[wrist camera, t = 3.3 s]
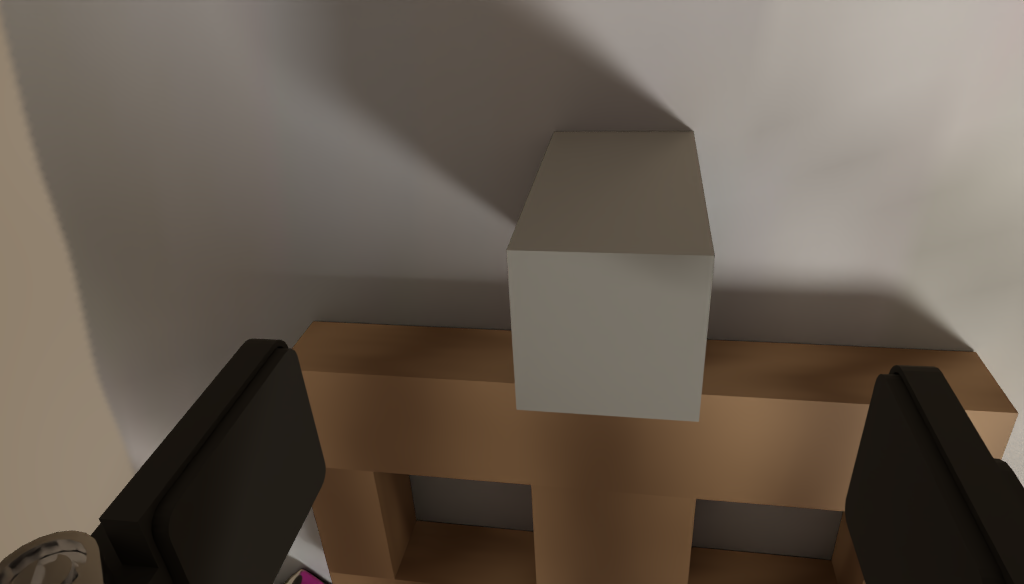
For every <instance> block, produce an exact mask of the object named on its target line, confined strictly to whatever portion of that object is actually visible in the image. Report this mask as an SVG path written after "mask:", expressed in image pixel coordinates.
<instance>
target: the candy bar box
mask: <svg viewBox="0 0 1024 584" xmlns="http://www.w3.org/2000/svg"><path fill="white" fill-rule="evenodd" d="M283 584H325V583H324V582H322V581H321V580H319V579H318V578H316V577H315V576H313V575H312V574H310V573H309V572H307V571H305V570H304V569H300V570H299V571H298V572H296V573H295V574H294V575H293V576H291V577H290V578H289V579H288V580H287V581H286V582H285V583H283Z"/></svg>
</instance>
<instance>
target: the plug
mask: <svg viewBox="0 0 1024 584" xmlns="http://www.w3.org/2000/svg"><path fill="white" fill-rule="evenodd" d="M506 252H507V267H508V283H509V299H510V315H511V330H512V346H513V362H514V377H515V393H516V409H517V410H528V411H543V412H558V413H573V414H588V415H603V416H618V417H633V418H649V419H664V420H679V421H694V422H699V415H700V405H701V394H702V384H703V373H704V363H705V352H706V342H707V331H708V321H709V310H710V300H711V289H712V279H713V268H714V258H715V255H714V249H713V243H712V237H711V231H710V225H709V219H708V214H707V208H706V202H705V196H704V190H703V184H702V178H701V172H700V166H699V161H698V155H697V149H696V143H695V137H694V131H616V132H554V133H553V136H552V138H551V141H550V143H549V146H548V148H547V151H546V153H545V156H544V158H543V160H542V163H541V165H540V168H539V170H538V173H537V175H536V178H535V180H534V183H533V185H532V188H531V190H530V193H529V195H528V198H527V200H526V203H525V205H524V208H523V210H522V213H521V215H520V218H519V220H518V223H517V225H516V228H515V230H514V233H513V235H512V238H511V240H510V243H509V245H508V248H507V250H506Z"/></svg>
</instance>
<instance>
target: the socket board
mask: <svg viewBox="0 0 1024 584" xmlns="http://www.w3.org/2000/svg"><path fill="white" fill-rule="evenodd" d="M292 349H293V350H295V352H296V353H297V356H298V359H299V363H300V367H301V371H302V375H303V379H304V383H305V386H306V390H307V394H308V398H309V402H310V406H311V410H312V414H313V417H314V421H315V425H316V429H317V433H318V437H319V441H320V445H321V448H322V452H323V456H324V460H325V465H326V473H325V479H324V483H323V485H322V487H321V489H320V491H319V493H318V495H317V497H316V499H315V501H314V503H313V505H312V508H313V512H314V516H315V519H316V523H317V527H318V531H319V535H320V538H321V542H322V546H323V550H324V554H325V557H326V561H327V565H328V569H329V573H330V576H331V580H332V584H866V583H865V580H864V577H863V574H862V571H861V568H860V564H859V561H858V558H857V555H856V552H855V549H854V545H853V542H852V539H851V536H850V533H849V530H848V527H847V523H846V517H845V501H846V496H847V492H848V488H849V484H850V480H851V476H852V472H853V468H854V464H855V460H856V456H857V453H858V449H859V445H860V441H861V437H862V433H863V429H864V425H865V421H866V417H867V413H868V409H869V405H870V401H871V397H872V393H873V389H874V385H875V381H876V379H877V377H878V375H880V374H889V372H890V370H891V368H892V367H893V366H895V365H911V366H935V367H937V368H939V369H940V371H941V372H942V373H943V375H944V377H945V378H946V380H947V382H948V383H949V385H950V387H951V388H952V390H953V392H954V393H955V395H956V396H957V398H958V400H959V401H960V403H961V405H962V406H963V408H964V410H965V411H966V413H967V415H968V416H969V418H970V420H971V421H972V423H973V425H974V426H975V428H976V430H977V431H978V433H979V435H980V436H981V438H982V440H983V441H984V443H985V445H986V446H987V448H988V450H989V451H990V453H991V455H992V456H993V458H996V459H1002V456H1003V453H1004V451H1005V448H1006V445H1007V443H1008V440H1009V437H1010V435H1011V432H1012V429H1013V427H1014V424H1015V421H1016V418H1017V416H1018V412H1017V411H1016V409H1015V408H1014V406H1013V405H1012V403H1011V402H1010V401H1009V399H1008V398H1007V396H1006V395H1005V393H1004V392H1003V390H1002V389H1001V388H1000V386H999V385H998V383H997V382H996V380H995V379H994V378H993V376H992V375H991V373H990V372H989V370H988V369H987V367H986V366H985V365H984V363H983V362H982V360H981V359H980V357H979V356H978V355H977V353H976V352H964V351H942V350H921V349H899V348H878V347H856V346H834V345H813V344H791V343H769V342H748V341H726V340H707V342H706V352H705V363H704V373H703V384H702V394H701V405H700V415H699V422H694V421H679V420H664V419H649V418H633V417H618V416H603V415H588V414H573V413H558V412H543V411H528V410H517V409H516V393H515V377H514V362H513V346H512V331H510V330H488V329H467V328H445V327H424V326H402V325H380V324H359V323H337V322H316V321H313V322H312V324H311V325H310V326H309V328H308V329H307V330H306V331H305V333H304V334H303V335H302V336H301V338H300V339H299V340H298V342H297V343H296V344H295V345H294V347H293V348H292ZM409 475H419V476H431V477H443V478H455V479H467V480H479V481H490V482H502V483H514V484H526V485H531V493H532V511H533V529H534V532H531V531H520V530H510V529H499V528H489V527H479V526H468V525H458V524H447V523H437V522H426V521H417V520H416V514H415V508H414V502H413V496H412V490H411V484H410V478H409ZM696 499H704V500H716V501H728V502H739V503H751V504H763V505H775V506H787V507H799V508H811V509H822V510H834V511H843V514H842V518H841V522H840V527H839V531H838V535H837V539H836V543H835V548H834V552H833V556H832V560H823V559H812V558H802V557H791V556H781V555H771V554H760V553H750V552H739V551H729V550H718V549H708V548H698V547H691V545H692V535H693V525H694V515H695V505H696Z"/></svg>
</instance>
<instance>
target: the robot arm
mask: <svg viewBox="0 0 1024 584" xmlns="http://www.w3.org/2000/svg"><path fill="white" fill-rule="evenodd" d="M325 473H326V465H325V460H324V456H323V452H322V448H321V445H320V441H319V437H318V433H317V429H316V425H315V421H314V417H313V414H312V410H311V406H310V402H309V398H308V394H307V390H306V386H305V383H304V379H303V375H302V371H301V367H300V363H299V359H298V356H297V353H296V352H295V350H293V349H288V346H287V344H286V343H285V342H284V341H282V340H270V339H249V340H247V341H246V342H245V343H244V344H243V345H242V346H241V347H240V349H239V350H238V351H237V352H236V353H235V355H234V356H233V357H232V358H231V359H230V361H229V362H228V363H227V364H226V366H225V367H224V368H223V369H222V370H221V372H220V373H219V374H218V375H217V376H216V378H215V379H214V380H213V381H212V382H211V384H210V385H209V386H208V387H207V388H206V390H205V391H204V392H203V393H202V395H201V396H200V397H199V398H198V399H197V401H196V402H195V403H194V404H193V405H192V407H191V408H190V409H189V410H188V411H187V413H186V414H185V415H184V416H183V418H182V419H181V420H180V421H179V422H178V424H177V425H176V426H175V427H174V428H173V430H172V431H171V432H170V433H169V434H168V436H167V437H166V438H165V439H164V440H163V442H162V443H161V444H160V445H159V447H158V448H157V449H156V450H155V451H154V453H153V454H152V455H151V456H150V457H149V459H148V460H147V461H146V462H145V463H144V465H143V466H142V467H141V468H140V470H139V471H138V472H137V473H136V474H135V476H134V477H133V478H132V479H131V480H130V482H129V483H128V484H127V485H126V486H125V488H124V489H123V490H122V492H121V493H120V494H119V495H118V496H117V497H116V499H115V500H114V501H113V502H112V503H111V505H110V506H109V507H108V508H107V509H106V511H105V512H104V513H103V514H102V515H101V517H100V518H99V520H100V522H101V523H100V525H99V526H98V527H97V528H96V530H95V531H94V532H93V533H92V535H91V536H90V535H88V534H87V533H83V532H78V531H64V532H56V533H53V534H49V535H46V536H43V537H39V538H37V539H35V540H33V541H31V542H29V543H27V544H25V545H23V546H21V547H20V548H19V549H17V550H15V551H14V552H13V553H11V554H10V555H8V556H7V557H6V558H4V559H3V560H2V561H1V562H0V584H272V583H273V581H274V580H275V578H276V576H277V574H278V572H279V570H280V568H281V566H282V564H283V562H284V560H285V558H286V556H287V554H288V552H289V550H290V548H291V546H292V544H293V542H294V540H295V538H296V536H297V534H298V532H299V530H300V529H301V527H302V525H303V523H304V521H305V519H306V517H307V515H308V513H309V511H310V509H311V507H312V505H313V503H314V501H315V499H316V497H317V495H318V493H319V491H320V489H321V487H322V485H323V483H324V479H325ZM845 517H846V523H847V527H848V530H849V533H850V536H851V539H852V542H853V545H854V549H855V552H856V555H857V558H858V561H859V564H860V568H861V571H862V574H863V577H864V580H865V583H866V584H1024V488H1023V486H1022V484H1021V483H1020V481H1019V480H1018V478H1017V476H1016V475H1015V473H1014V471H1013V470H1012V469H1011V468H1010V467H1009V465H1008V464H1007V463H1006V462H1004V461H1002V460H1001V459H996V458H993V456H992V455H991V453H990V451H989V450H988V448H987V446H986V445H985V443H984V441H983V440H982V438H981V436H980V435H979V433H978V431H977V430H976V428H975V426H974V425H973V423H972V421H971V420H970V418H969V416H968V415H967V413H966V411H965V410H964V408H963V406H962V405H961V403H960V401H959V400H958V398H957V396H956V395H955V393H954V392H953V390H952V388H951V387H950V385H949V383H948V382H947V380H946V378H945V377H944V375H943V373H942V372H941V371H940V369H939V368H937V367H935V366H911V365H895V366H893V367H892V368H891V370H890V372H889V374H880V375H878V377H877V379H876V381H875V385H874V389H873V393H872V397H871V401H870V405H869V409H868V413H867V417H866V421H865V425H864V429H863V433H862V437H861V441H860V445H859V449H858V453H857V456H856V460H855V464H854V468H853V472H852V476H851V480H850V484H849V488H848V492H847V496H846V501H845Z"/></svg>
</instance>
